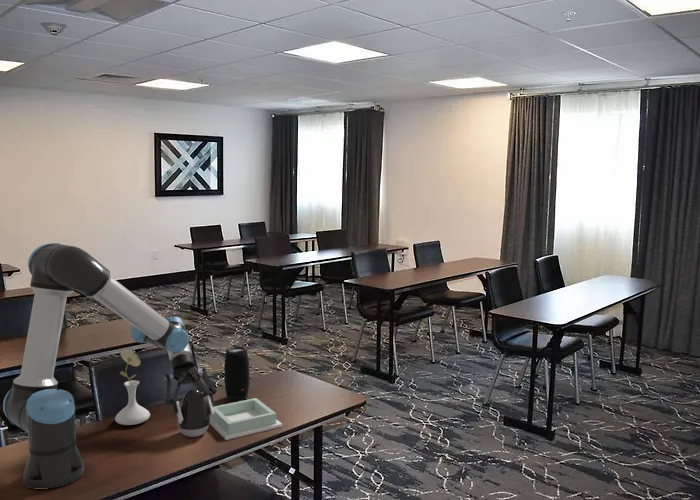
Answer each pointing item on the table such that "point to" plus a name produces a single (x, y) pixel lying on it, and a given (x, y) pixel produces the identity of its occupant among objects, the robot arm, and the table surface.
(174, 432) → the table surface
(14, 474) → the table surface
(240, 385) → the portable speaker
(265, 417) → the holder
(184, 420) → the black rounded tall piece
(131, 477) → the table surface
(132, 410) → the flower in vase
